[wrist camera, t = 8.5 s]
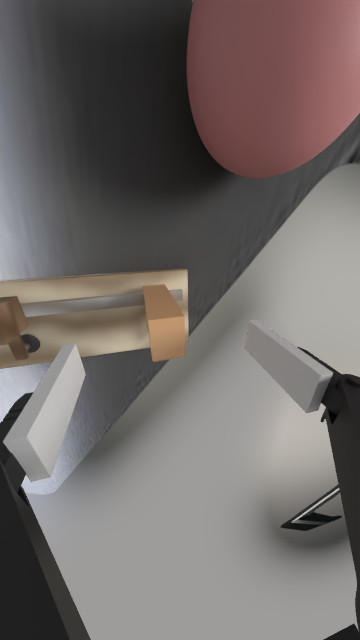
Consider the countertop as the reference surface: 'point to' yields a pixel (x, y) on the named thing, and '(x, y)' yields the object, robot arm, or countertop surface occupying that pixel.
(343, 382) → the robot arm
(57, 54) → the countertop surface
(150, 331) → the orange wooden block
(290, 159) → the balloon
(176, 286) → the wooden slotted board
